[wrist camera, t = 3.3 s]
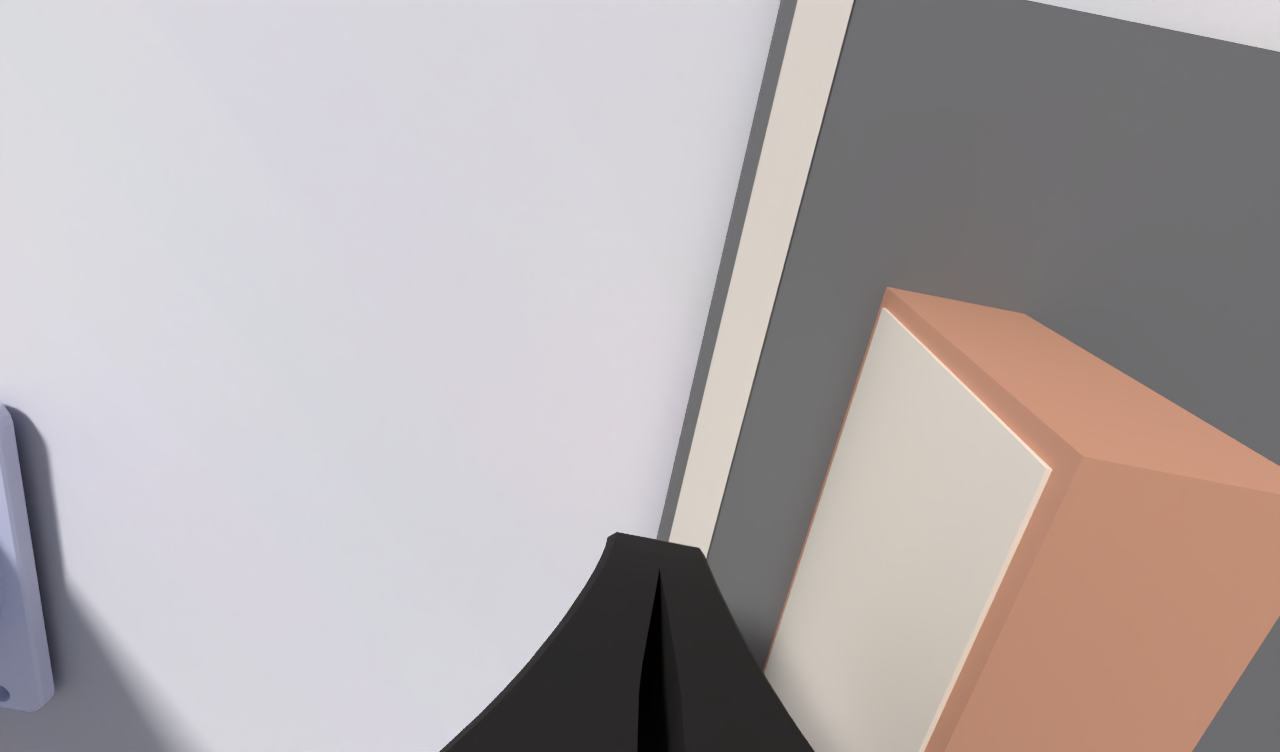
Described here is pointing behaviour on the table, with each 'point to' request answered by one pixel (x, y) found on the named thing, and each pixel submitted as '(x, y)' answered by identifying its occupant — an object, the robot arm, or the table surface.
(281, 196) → the table surface
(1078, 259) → the mat
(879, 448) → the card box
